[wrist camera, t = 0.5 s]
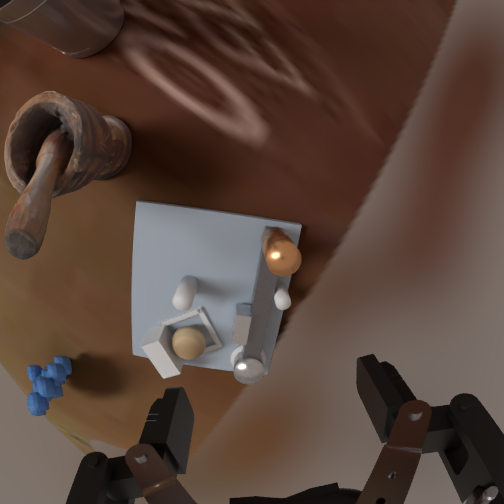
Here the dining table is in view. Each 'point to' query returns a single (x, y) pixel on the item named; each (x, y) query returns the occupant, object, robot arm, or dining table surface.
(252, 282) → the nutcracker base
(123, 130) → the mortar and pestle
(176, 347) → the hazelnut
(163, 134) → the dining table surface
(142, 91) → the dining table surface
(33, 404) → the blue lumpy cluster
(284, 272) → the lever
